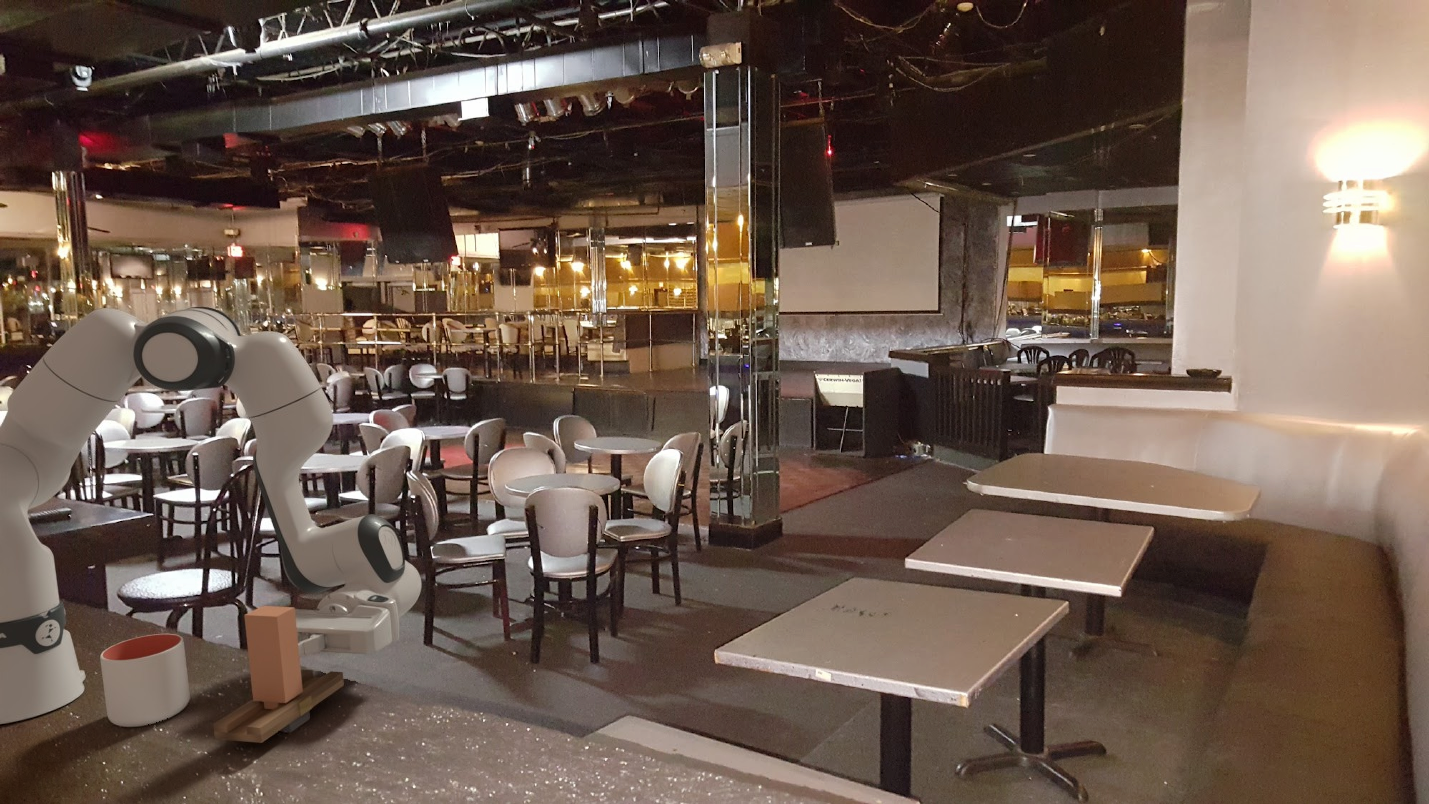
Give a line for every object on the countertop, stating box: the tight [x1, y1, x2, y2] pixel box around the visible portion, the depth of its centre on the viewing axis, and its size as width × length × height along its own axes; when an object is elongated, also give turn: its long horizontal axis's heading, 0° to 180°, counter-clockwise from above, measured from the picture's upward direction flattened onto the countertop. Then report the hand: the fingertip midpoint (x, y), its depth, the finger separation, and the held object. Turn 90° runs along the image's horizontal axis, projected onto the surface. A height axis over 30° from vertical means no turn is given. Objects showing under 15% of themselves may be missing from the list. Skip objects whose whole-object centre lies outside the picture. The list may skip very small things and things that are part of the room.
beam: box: [212, 669, 345, 744], centre depth 124 cm, size 7×17×4 cm, turn 167°
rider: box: [244, 605, 303, 709], centre depth 123 cm, size 5×4×13 cm
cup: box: [99, 633, 191, 728], centre depth 129 cm, size 10×10×10 cm
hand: (286, 653), depth 125 cm, fingers closed
